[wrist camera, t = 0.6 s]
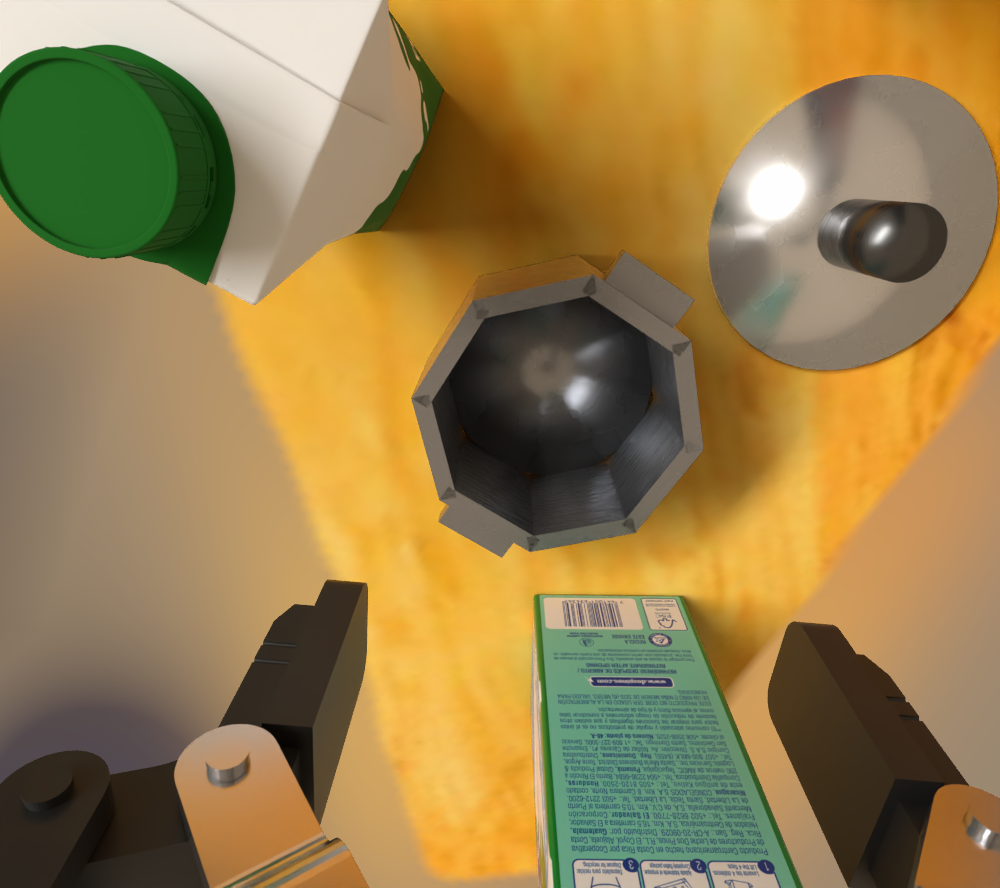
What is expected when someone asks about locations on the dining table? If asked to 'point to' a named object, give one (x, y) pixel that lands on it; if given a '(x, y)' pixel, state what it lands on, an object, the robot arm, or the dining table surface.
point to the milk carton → (641, 755)
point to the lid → (852, 222)
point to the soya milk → (208, 129)
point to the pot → (560, 404)
